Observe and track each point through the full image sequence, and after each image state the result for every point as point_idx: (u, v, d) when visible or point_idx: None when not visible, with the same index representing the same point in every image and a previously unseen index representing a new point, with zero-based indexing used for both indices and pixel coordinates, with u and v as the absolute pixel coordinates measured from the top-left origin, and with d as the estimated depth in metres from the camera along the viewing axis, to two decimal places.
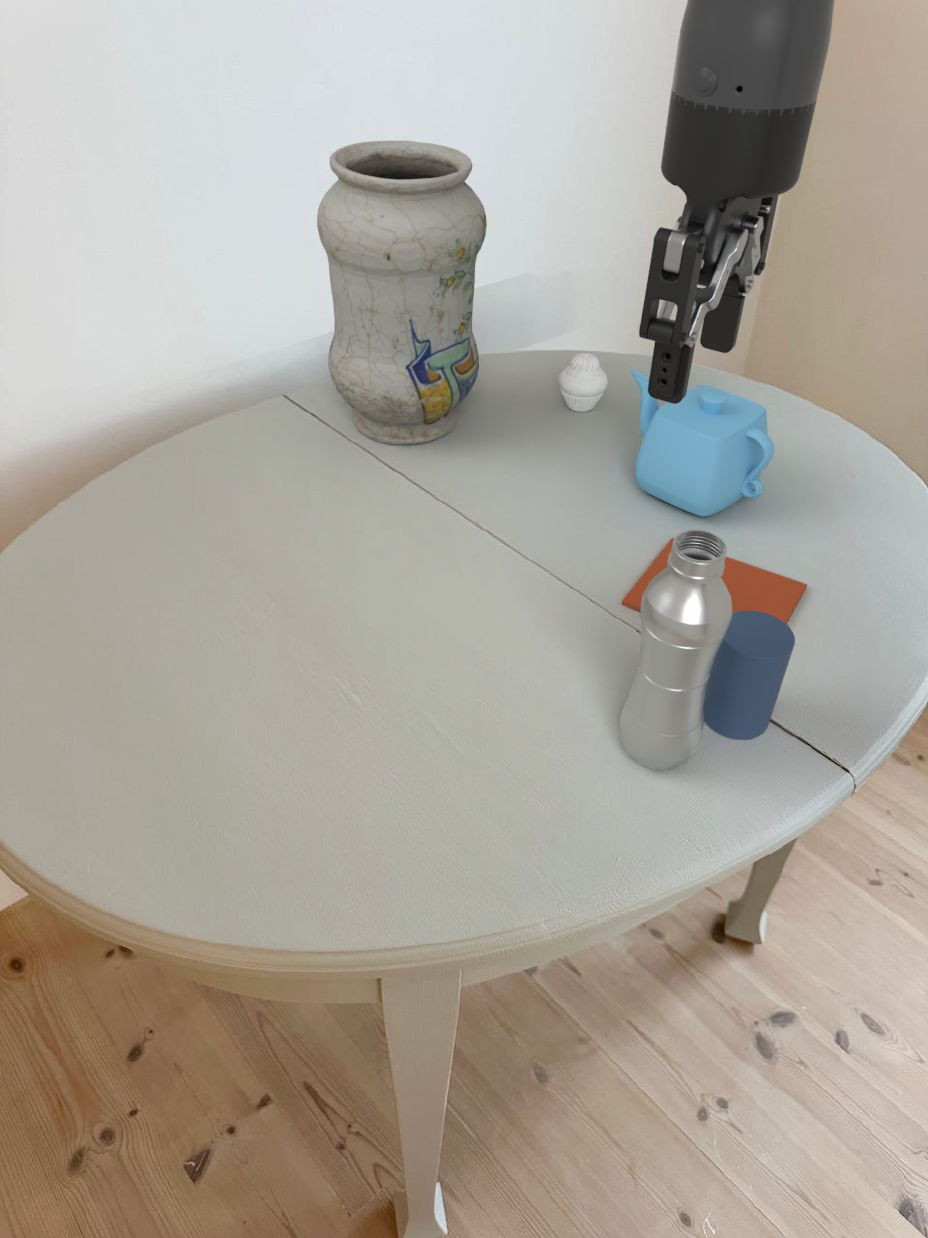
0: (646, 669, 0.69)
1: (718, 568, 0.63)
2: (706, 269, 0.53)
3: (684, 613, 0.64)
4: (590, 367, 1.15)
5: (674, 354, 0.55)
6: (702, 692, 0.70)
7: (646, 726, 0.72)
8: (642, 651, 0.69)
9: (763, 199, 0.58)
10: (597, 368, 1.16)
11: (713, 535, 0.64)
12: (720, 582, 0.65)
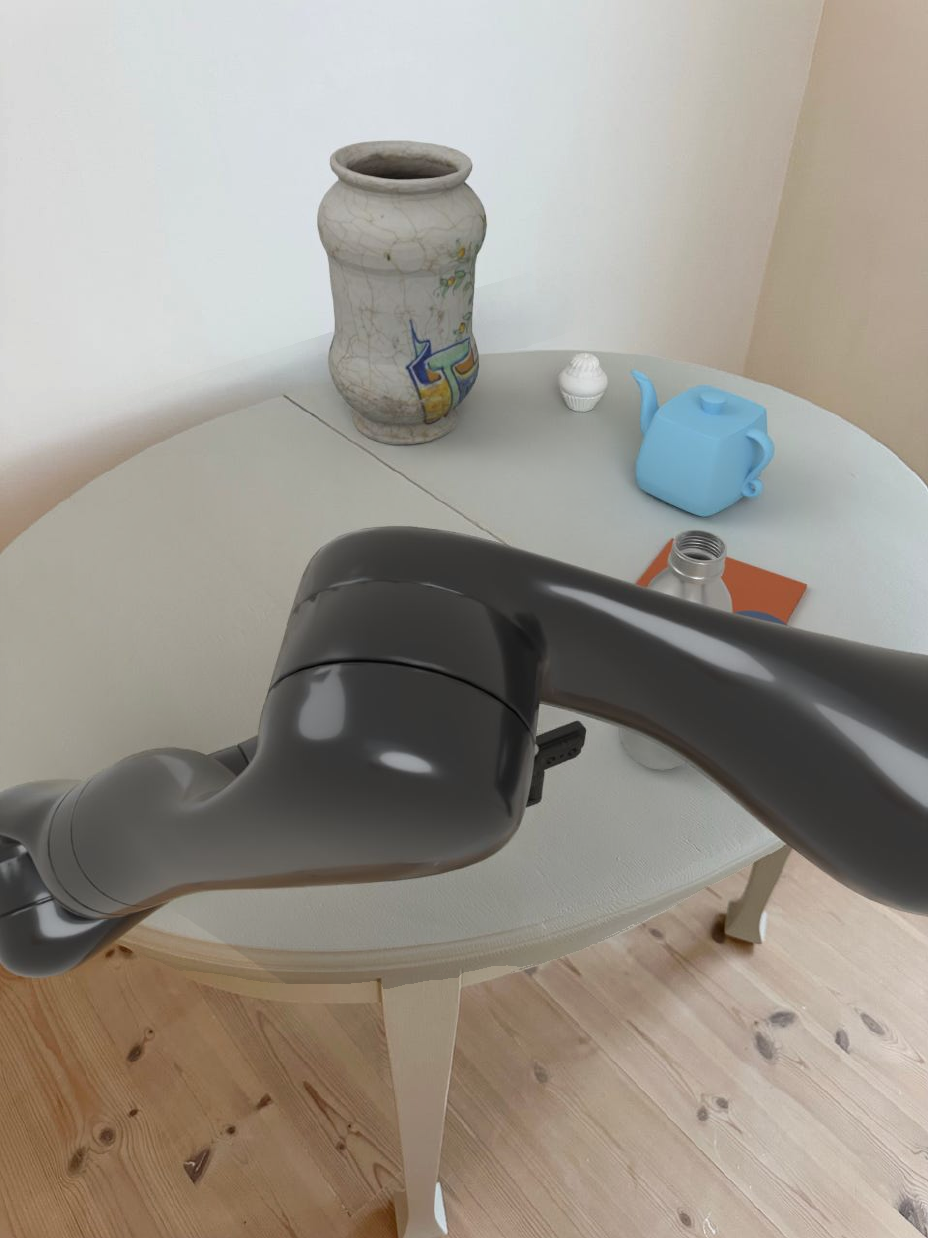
0: None
1: (718, 568, 0.63)
2: None
3: None
4: (590, 367, 1.15)
5: (547, 757, 0.60)
6: None
7: None
8: None
9: None
10: (597, 368, 1.16)
11: (713, 535, 0.64)
12: (720, 582, 0.65)
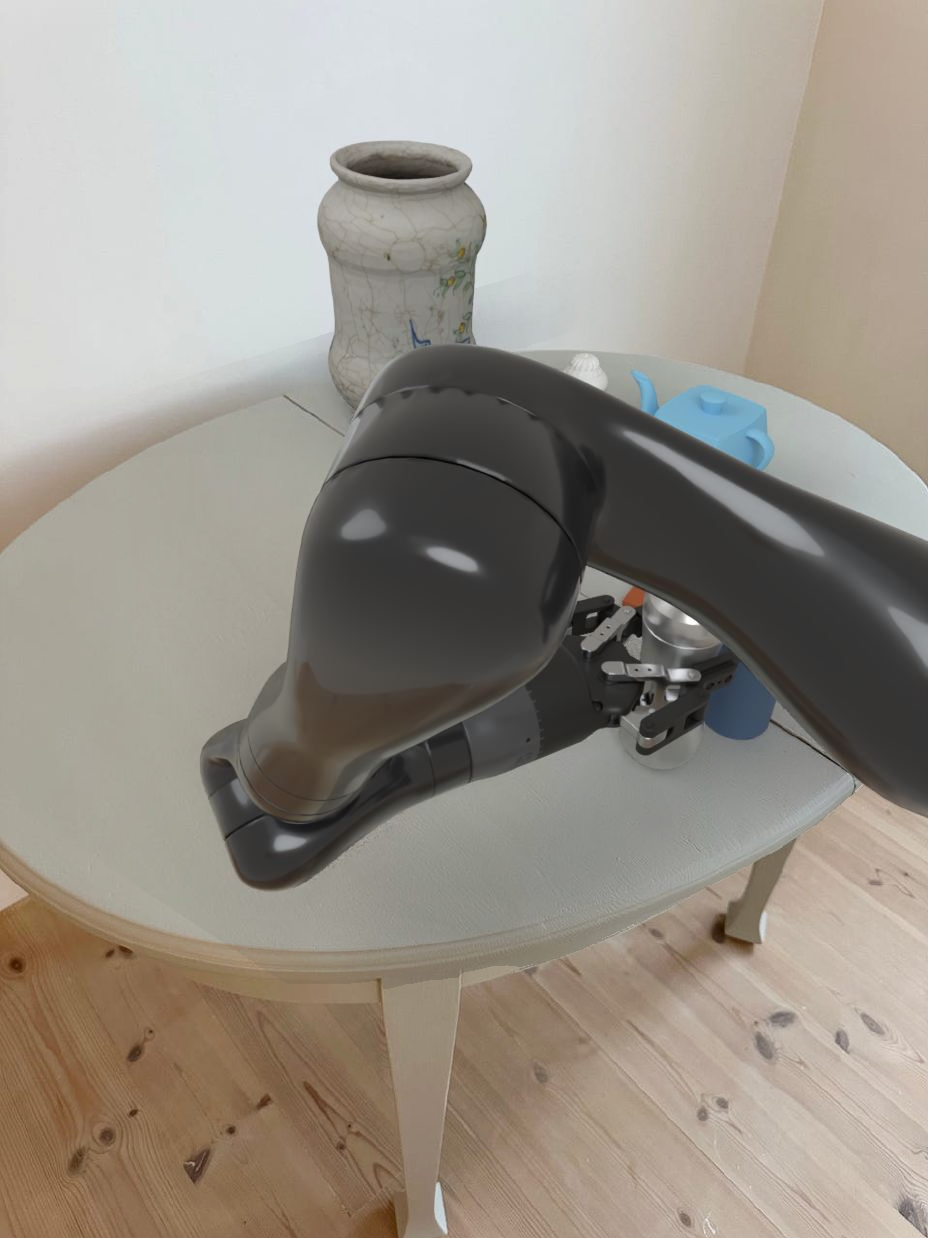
0: None
1: None
2: (639, 690, 0.65)
3: None
4: (590, 367, 1.15)
5: (707, 683, 0.66)
6: None
7: None
8: (643, 651, 0.69)
9: None
10: (597, 368, 1.16)
11: None
12: None
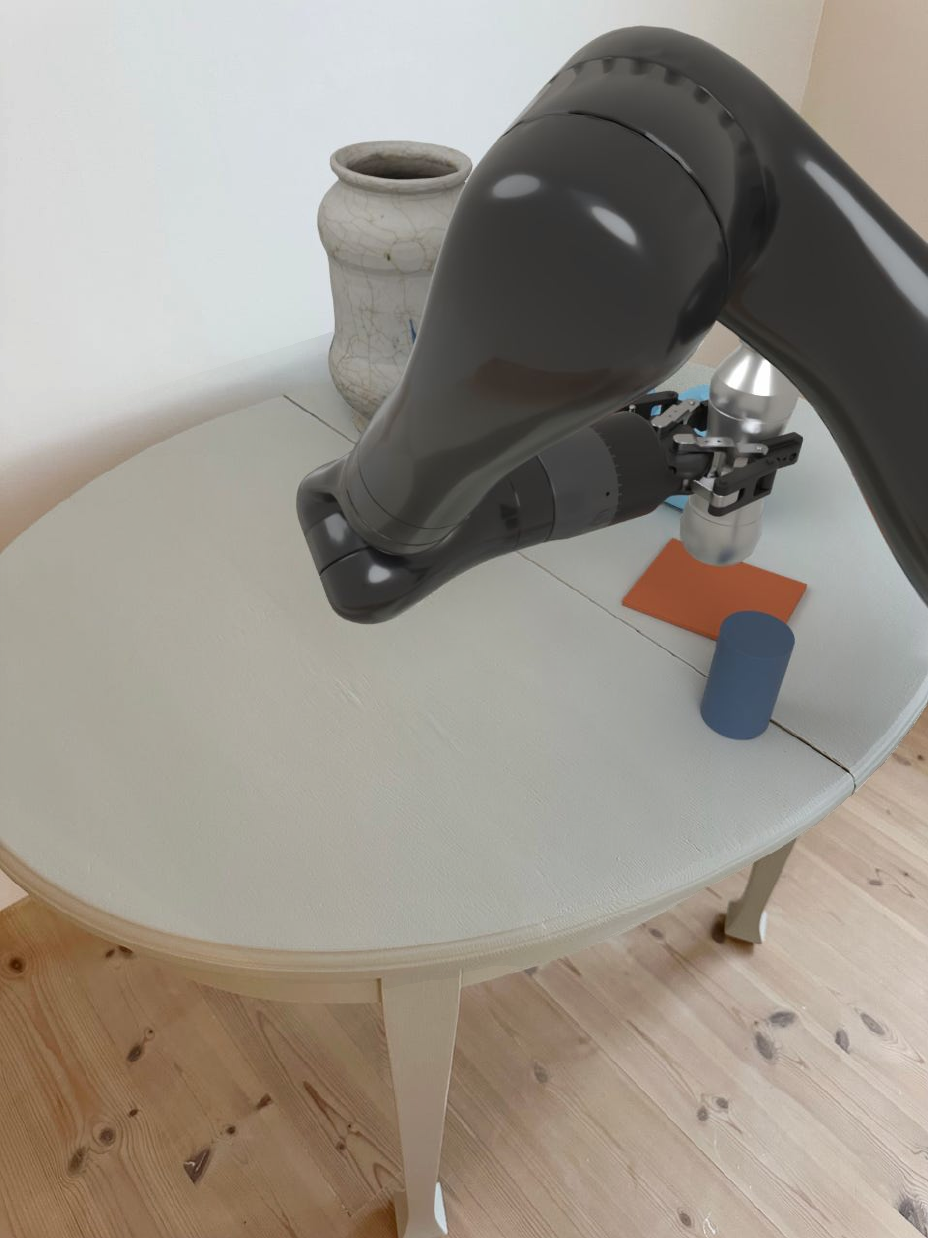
0: None
1: None
2: (709, 461, 0.67)
3: (755, 385, 0.67)
4: None
5: (773, 457, 0.68)
6: None
7: (710, 517, 0.74)
8: None
9: None
10: None
11: None
12: None
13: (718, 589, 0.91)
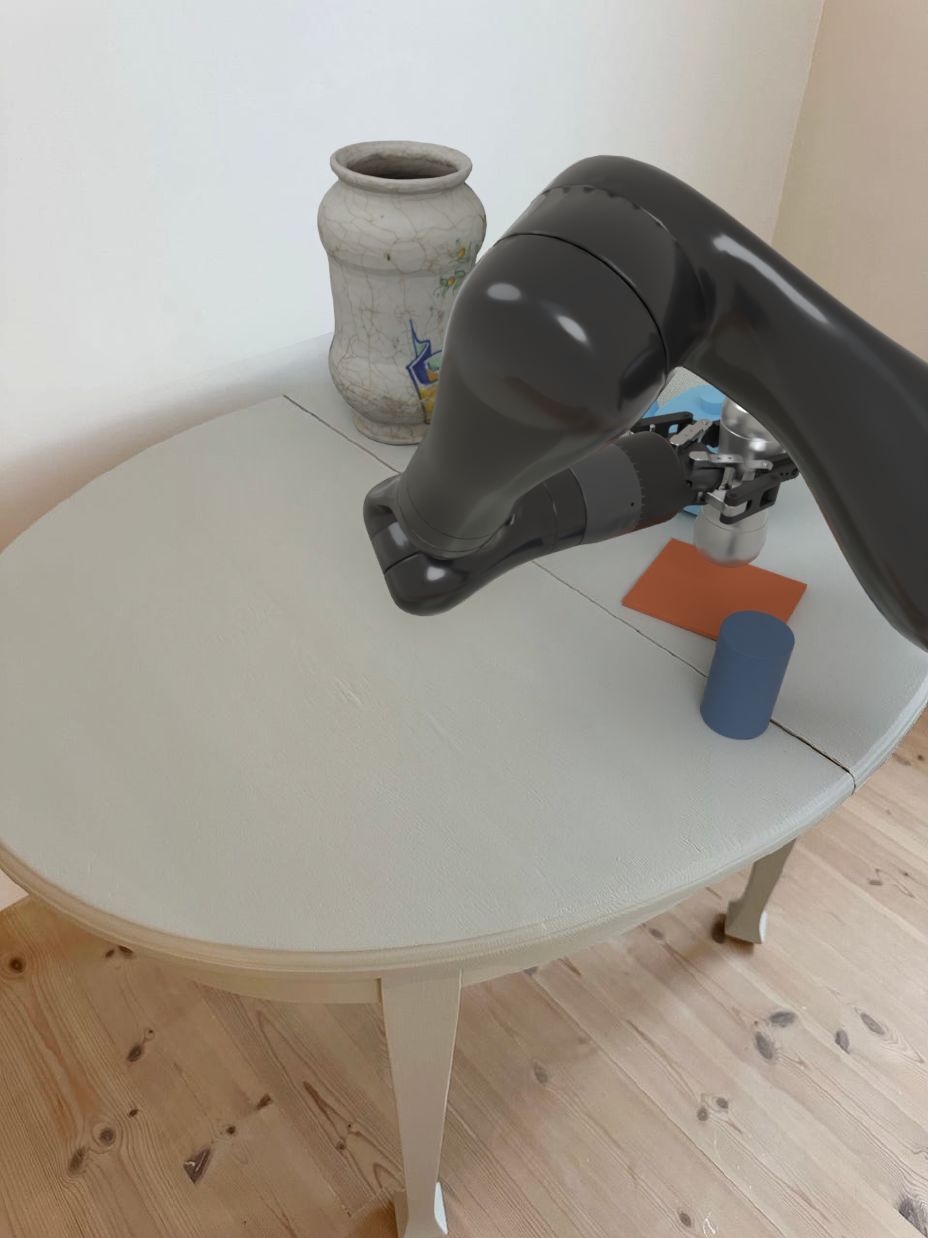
0: None
1: None
2: (721, 475, 0.76)
3: None
4: None
5: (777, 472, 0.77)
6: None
7: (720, 524, 0.83)
8: (720, 453, 0.80)
9: (645, 430, 0.82)
10: None
11: None
12: None
13: (718, 589, 0.91)
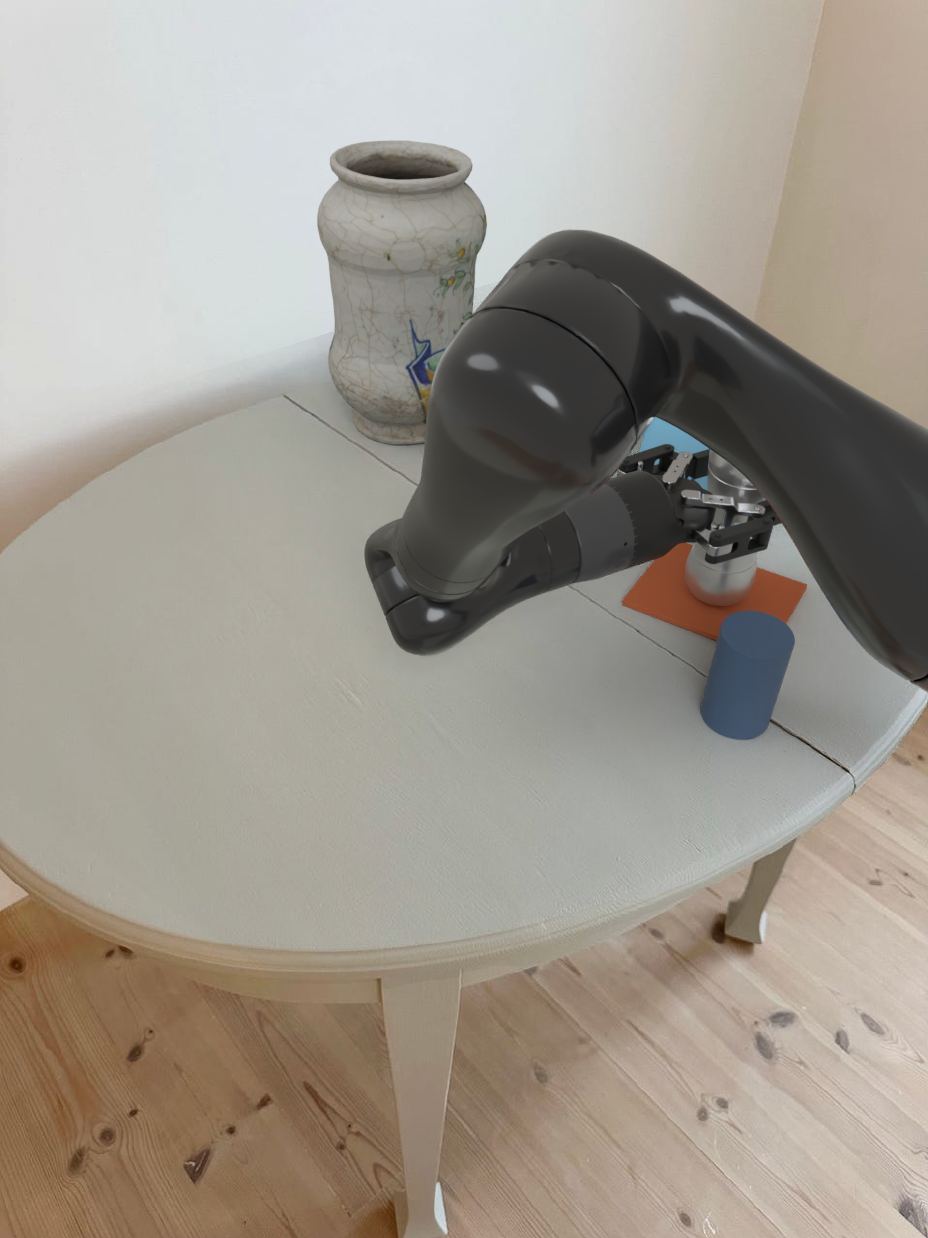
0: None
1: None
2: (712, 513, 0.78)
3: None
4: None
5: (770, 516, 0.79)
6: None
7: (710, 565, 0.86)
8: None
9: (634, 467, 0.84)
10: None
11: None
12: None
13: None
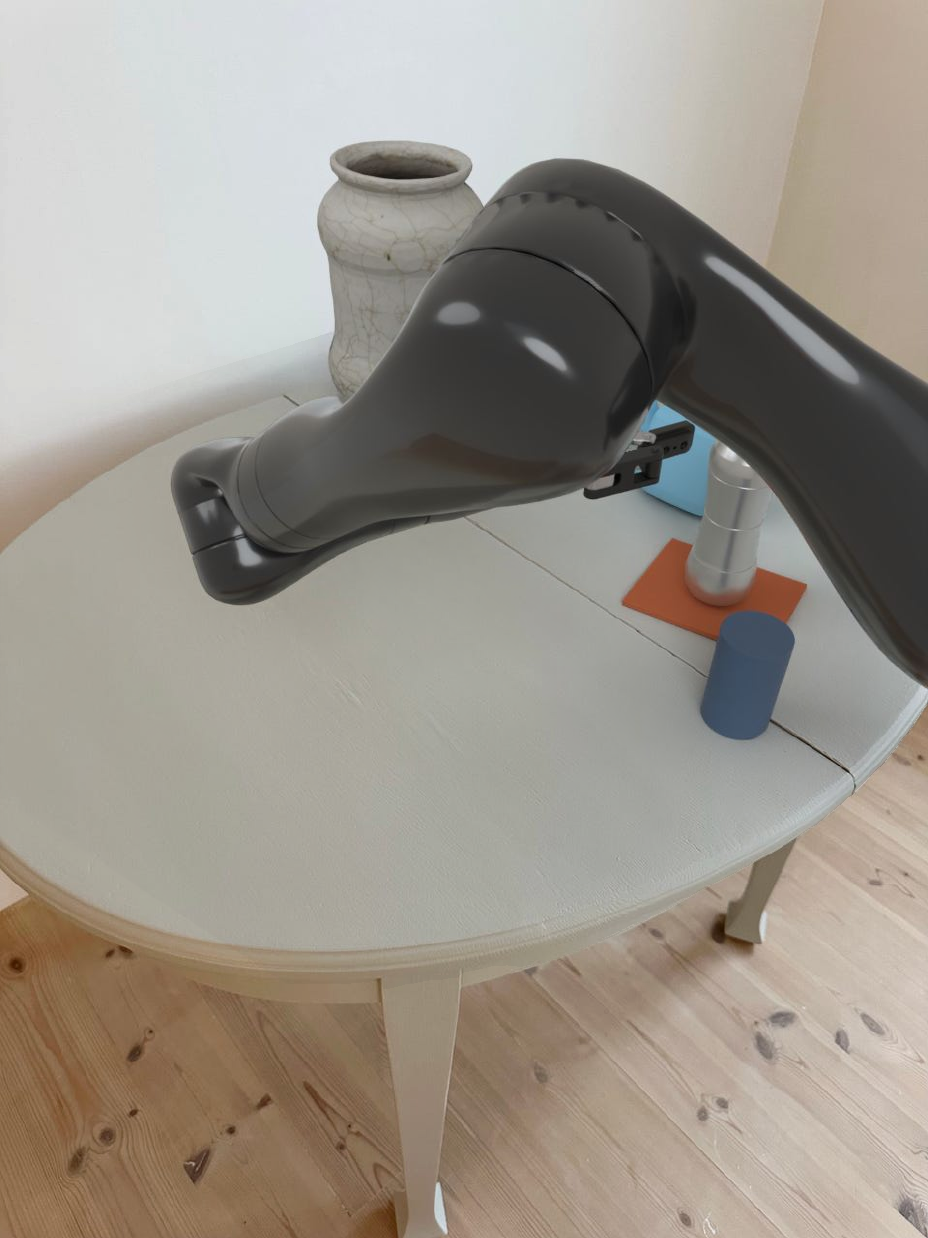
0: (712, 513, 0.83)
1: None
2: None
3: None
4: None
5: (662, 446, 0.68)
6: (757, 534, 0.84)
7: (710, 565, 0.86)
8: (708, 498, 0.83)
9: None
10: None
11: None
12: None
13: None
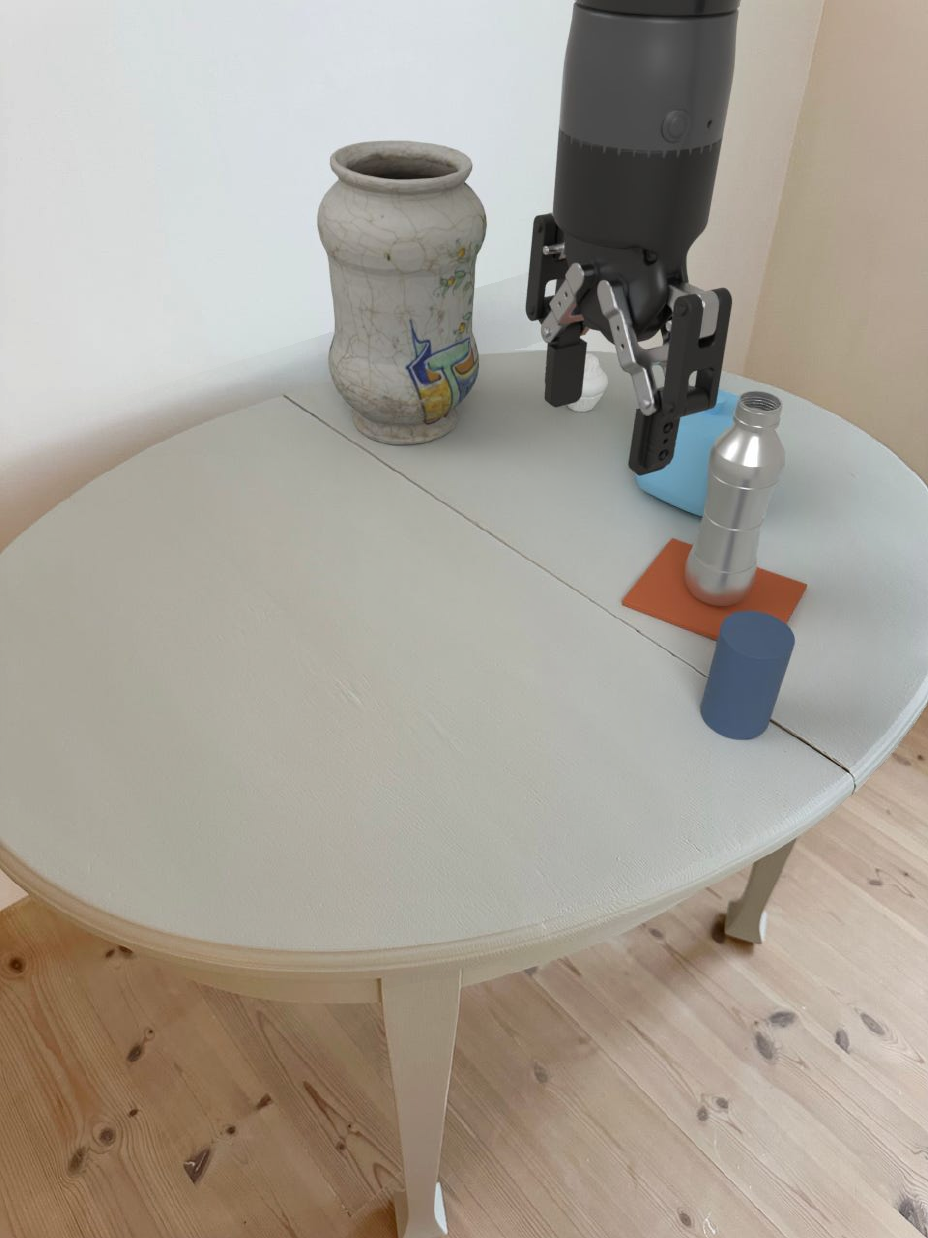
0: (712, 513, 0.83)
1: (775, 419, 0.77)
2: (665, 322, 0.48)
3: (747, 458, 0.79)
4: (590, 367, 1.15)
5: (675, 420, 0.49)
6: (757, 534, 0.84)
7: (710, 565, 0.86)
8: (708, 498, 0.83)
9: None
10: (597, 368, 1.16)
11: (770, 394, 0.79)
12: (776, 434, 0.79)
13: None
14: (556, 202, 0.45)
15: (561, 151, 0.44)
